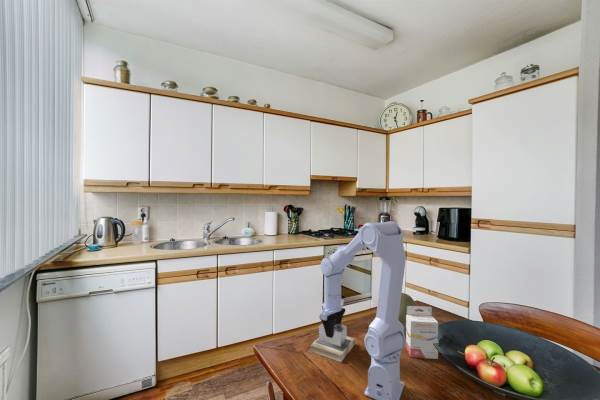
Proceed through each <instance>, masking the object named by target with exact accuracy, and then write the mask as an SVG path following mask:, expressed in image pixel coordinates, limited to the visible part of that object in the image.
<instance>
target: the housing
mask: <svg viewBox="0 0 600 400" xmlns="http://www.w3.org/2000/svg"><path fill="white" fill-rule="evenodd" d="M347 329H348V327H347V325H344V324H341V325H340V324H337V323H336V322H335V325H334V333H333V337H332V338H330V337H327V336H326V333H325V329H324V326H323V323H322V322H321V324H320V325H318V338H319V341H321V342H324V343H327V344H330V345H333V346H336V347H339V348H341V347H342V346H343V345H344V344H345V342H346V341H347V336H348V333H347Z"/></svg>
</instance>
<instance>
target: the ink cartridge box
mask: <svg viewBox="0 0 600 400" xmlns="http://www.w3.org/2000/svg"><path fill="white" fill-rule="evenodd" d="M415 310H418V311H415ZM419 310H422V311H419ZM432 310H433V308H432V306H421V305H419V306H418V305H416V306H407V315H406V335H405V340H406V344H405V349H406V351H407V353H408V355H409V356H410V358H417V359H418V358H419V359H420V358H421V359H435V360H438V359H439V349H438V350H437V349H436V348H435V346H434V345H433V343H438V344H439V321H437V320H436V318H435V317H434V316H432V313H433V311H432Z"/></svg>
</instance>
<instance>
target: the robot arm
mask: <svg viewBox="0 0 600 400" xmlns="http://www.w3.org/2000/svg"><path fill="white" fill-rule="evenodd" d="M404 236H405V234H404V231H403V230H402V228H401V227H400V225H399V224H398V223H396V222H395V221H393V220H391V221H385V222H384V221H382V222H366V223H365V224H363V225H362V227H359V229H358V232H357V234H356V235H355V236H354V237H353V239H352V240H351V241H350V242H348V244H347V245H339V246H338V247H337V249H336V251H334V253H331V254H330V256H329V257H328V258H327V257H325V258H322V260H321V261H320V270H321V273H322V275H323V278H324V279H323V280H324V282H323V284H324V286H323V287H324V289H323V293H324V294H323V296H324V300H323V301H324V302H323V303H322V304H321V307H322V311H320V314H319V320H320V321H321V324H322V323H323V326H324V329H325V333H326V336H327V337H330V338H332V337H333V333H334V325H335V322H336V323H337V324H340V325H342V320H343V317H344V315H345V313H346V308H343V306H344V305H345V299H342V279H343V275H344V273H345V270H346V267H347V266H348V265H350V264H351V263H352V262H353V261H354V260H355V255H356V254H357V253H359V252H360V251H362V250H363V249H364V248H366V247H367V248H368V249H369V250H370V251H371V252H372V253H374V255H376V256H377V257H379V258H380V260H381V270H380V278H379V279H380V280H379V288H378V297H377V306H376V307H377V308H376V315H375V318H374V319H373V320H372V321H371V322H370V324H369V325H368V331H367V333H366V334H365V335H364V347H365V349H366V351H367V353H368V355H369V356H370V359H371V360H370V361H371V362H370V366H369V368H368V370H367V386H366V389H365V390H364V395H365V396H366V397H368V398H372V399H374V400H400V399H401V396H402V393H403V390H404V386H405V382H403V381H401V371H400V369H401V366H400V364H401V363H400V362H401V361H400V360H401V359H400V356H401V354H402V350H403V349H404V348H406V335H404V326H403V325H402V324H401V323H400V322H399V321H398V318H399V310H400V302H401V294H402V293H403V284H404V278H405V269H406V262H407V261H406V260H407V256H406V250H405V246H404Z"/></svg>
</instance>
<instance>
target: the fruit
mask: <svg viewBox="0 0 600 400" xmlns="http://www.w3.org/2000/svg"><path fill="white" fill-rule="evenodd" d="M407 306H417V304H416V301H415V300H414V298H412V296H411V295H409V294H407V293H405V292H402V294H401V302H400V310H399V318H398V321H399V322H400V323H401V324H402V325H403V326H404V336H406V315H407ZM415 311H419V309H418V310H415Z"/></svg>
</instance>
